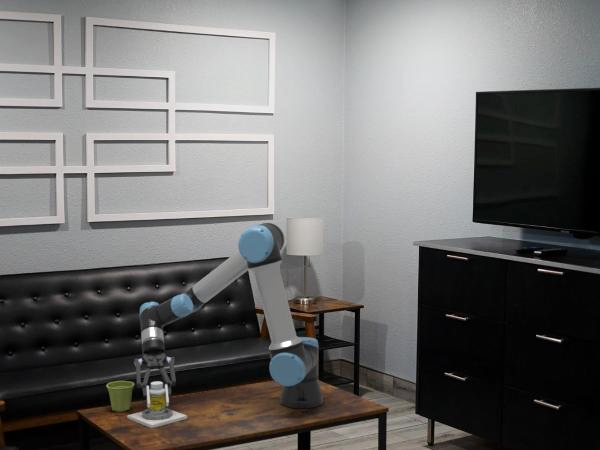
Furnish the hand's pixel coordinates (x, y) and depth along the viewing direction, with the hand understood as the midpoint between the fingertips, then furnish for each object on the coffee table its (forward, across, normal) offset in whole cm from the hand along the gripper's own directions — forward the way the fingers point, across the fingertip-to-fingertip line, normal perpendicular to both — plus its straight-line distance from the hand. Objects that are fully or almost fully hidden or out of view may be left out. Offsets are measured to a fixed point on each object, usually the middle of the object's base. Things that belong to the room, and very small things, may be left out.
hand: (158, 404), depth 288 cm
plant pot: (-8, +11, -16) cm, 21 cm away
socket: (+1, 0, -7) cm, 7 cm away
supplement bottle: (0, 0, -5) cm, 5 cm away
